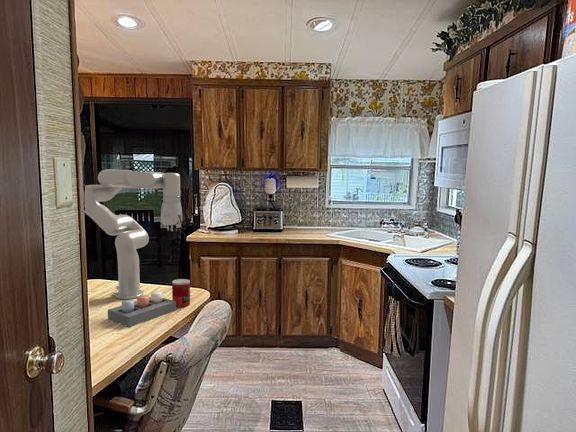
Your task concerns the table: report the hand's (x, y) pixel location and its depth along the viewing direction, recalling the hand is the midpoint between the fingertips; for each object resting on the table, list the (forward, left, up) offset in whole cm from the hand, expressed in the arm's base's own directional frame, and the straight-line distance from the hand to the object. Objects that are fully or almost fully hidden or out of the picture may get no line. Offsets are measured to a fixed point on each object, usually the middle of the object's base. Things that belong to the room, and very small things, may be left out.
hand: (172, 239), depth 177 cm
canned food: (+8, -2, -29) cm, 30 cm away
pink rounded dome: (+5, -20, -26) cm, 33 cm away
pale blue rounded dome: (+5, -27, -26) cm, 38 cm away
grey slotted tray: (+5, -20, -29) cm, 36 cm away
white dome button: (+5, -13, -26) cm, 29 cm away
